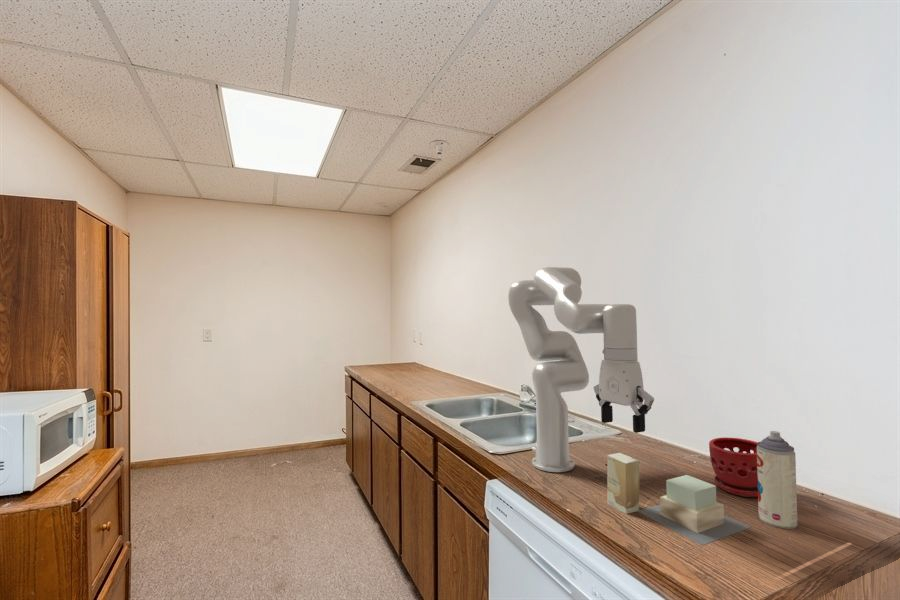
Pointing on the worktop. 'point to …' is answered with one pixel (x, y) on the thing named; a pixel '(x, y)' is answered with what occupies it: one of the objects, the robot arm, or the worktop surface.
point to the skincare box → (623, 482)
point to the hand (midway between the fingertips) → (622, 426)
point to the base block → (692, 515)
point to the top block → (691, 492)
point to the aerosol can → (777, 482)
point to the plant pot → (735, 465)
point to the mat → (701, 537)
